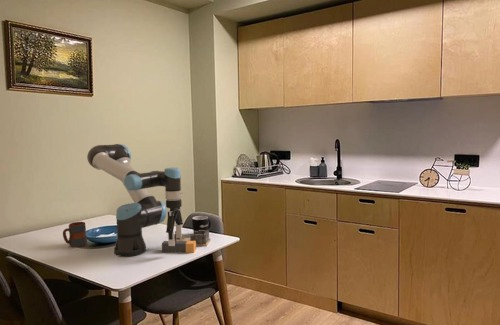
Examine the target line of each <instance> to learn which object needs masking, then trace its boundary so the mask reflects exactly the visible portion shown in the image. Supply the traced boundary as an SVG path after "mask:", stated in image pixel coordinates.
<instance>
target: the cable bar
mask: <svg viewBox="0 0 500 325" xmlns="http://www.w3.org/2000/svg"><path fill="white" fill-rule="evenodd" d="M174 243H175V246H169V243H168V240H164V241H162V242H161V252H162V253H185V254H190V253H191V254H194V253H195V252H196V250H197V246H196V241H174Z"/></svg>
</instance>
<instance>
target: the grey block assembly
mask: <svg viewBox="0 0 500 325" xmlns="http://www.w3.org/2000/svg"><path fill="white" fill-rule="evenodd" d="M189 236H190V237H189V238H187V237H186V238H185V237H184V238H176V230H174V241H196V247H208V245H209V244H210V242H211V238H210V230H209V229H208V230H206V232H205V230H199V234H198V231H193V234H190V235H189Z"/></svg>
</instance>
